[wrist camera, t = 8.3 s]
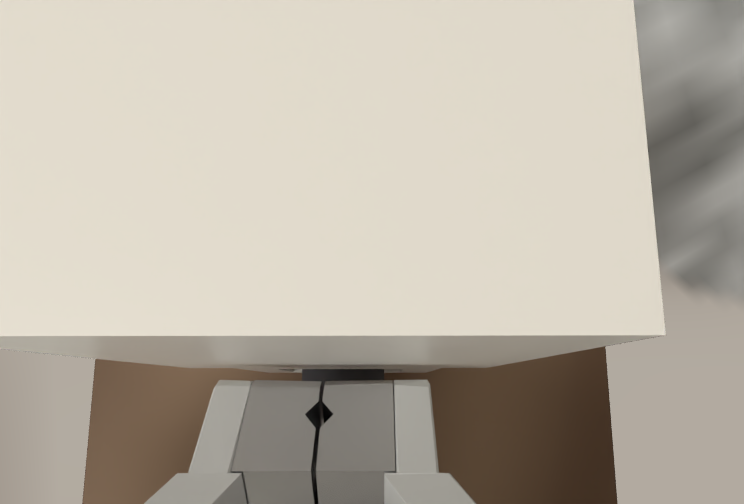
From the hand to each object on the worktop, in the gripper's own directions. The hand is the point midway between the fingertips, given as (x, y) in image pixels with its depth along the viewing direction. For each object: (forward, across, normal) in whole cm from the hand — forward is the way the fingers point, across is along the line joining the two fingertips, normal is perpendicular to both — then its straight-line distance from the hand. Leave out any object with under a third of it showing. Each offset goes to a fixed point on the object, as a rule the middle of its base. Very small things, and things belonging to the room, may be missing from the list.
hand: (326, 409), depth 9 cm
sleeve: (+5, 0, +1) cm, 5 cm away
